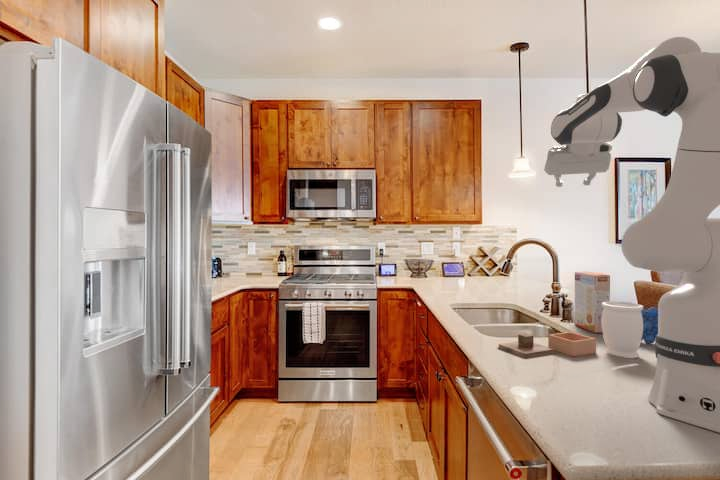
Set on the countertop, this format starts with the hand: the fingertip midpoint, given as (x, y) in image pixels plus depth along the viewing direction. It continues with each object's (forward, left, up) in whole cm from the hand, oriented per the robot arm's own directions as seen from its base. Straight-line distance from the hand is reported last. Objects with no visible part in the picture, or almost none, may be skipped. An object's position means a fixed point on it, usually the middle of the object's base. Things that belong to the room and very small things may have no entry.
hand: (572, 185), depth 139 cm
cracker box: (+6, -17, -52) cm, 55 cm away
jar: (-20, +3, -52) cm, 56 cm away
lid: (-7, +27, -51) cm, 59 cm away
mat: (-7, +27, -52) cm, 59 cm away
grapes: (-15, -17, -52) cm, 57 cm away
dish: (-13, +15, -52) cm, 56 cm away
